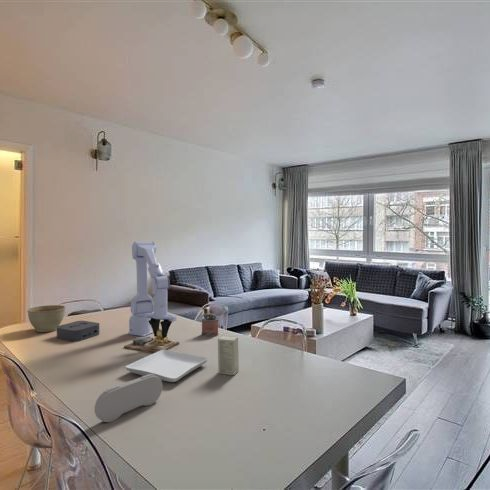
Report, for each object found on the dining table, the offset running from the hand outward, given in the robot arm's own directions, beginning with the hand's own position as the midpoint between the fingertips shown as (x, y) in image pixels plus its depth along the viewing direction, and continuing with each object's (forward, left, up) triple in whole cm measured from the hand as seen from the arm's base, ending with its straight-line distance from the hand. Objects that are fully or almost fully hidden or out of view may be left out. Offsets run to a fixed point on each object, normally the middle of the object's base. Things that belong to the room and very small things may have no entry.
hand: (160, 336), depth 149 cm
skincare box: (+38, -12, -5) cm, 40 cm away
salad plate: (+18, -19, -5) cm, 26 cm away
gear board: (-4, 0, -4) cm, 6 cm away
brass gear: (0, 0, -2) cm, 2 cm away
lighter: (+10, +25, -5) cm, 27 cm away
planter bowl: (-66, -2, -5) cm, 66 cm away
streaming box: (-45, -2, -5) cm, 45 cm away
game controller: (+26, -47, -5) cm, 54 cm away
